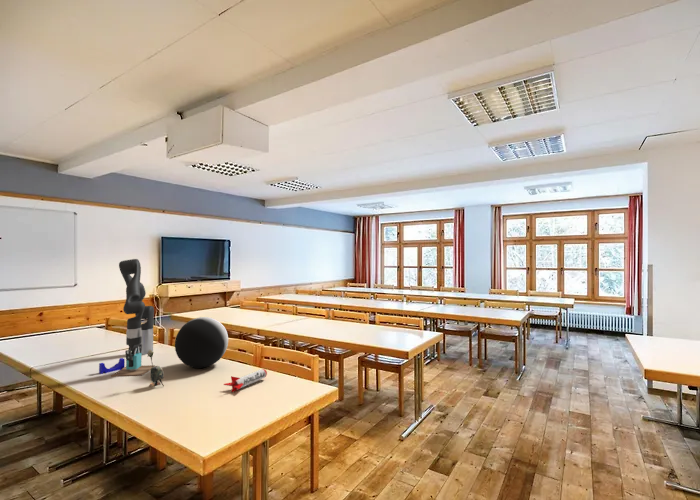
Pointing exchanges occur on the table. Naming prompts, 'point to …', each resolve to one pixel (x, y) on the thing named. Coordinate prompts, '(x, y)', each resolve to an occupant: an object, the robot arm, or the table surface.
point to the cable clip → (116, 367)
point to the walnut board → (138, 372)
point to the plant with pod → (155, 372)
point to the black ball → (201, 342)
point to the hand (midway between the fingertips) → (133, 364)
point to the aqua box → (135, 361)
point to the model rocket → (246, 379)
